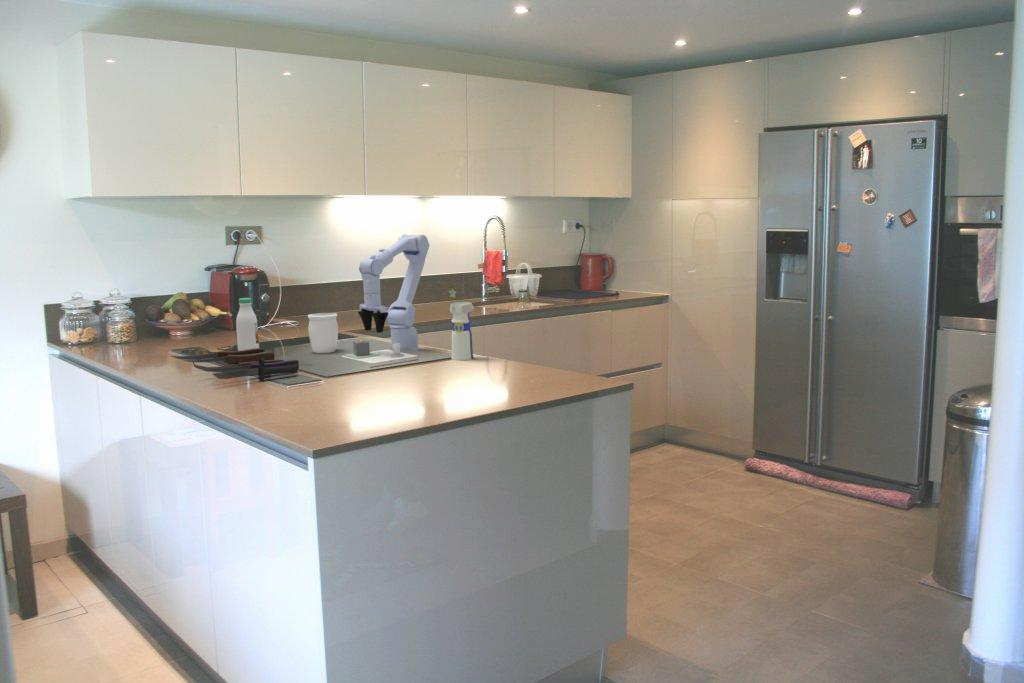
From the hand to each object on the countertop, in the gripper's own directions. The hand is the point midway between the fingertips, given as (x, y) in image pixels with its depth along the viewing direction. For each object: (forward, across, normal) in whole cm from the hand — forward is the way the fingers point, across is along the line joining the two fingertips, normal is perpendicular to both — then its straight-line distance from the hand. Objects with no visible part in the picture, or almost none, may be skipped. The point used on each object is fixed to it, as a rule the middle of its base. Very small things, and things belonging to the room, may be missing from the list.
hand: (373, 331), depth 295 cm
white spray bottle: (+10, +25, +20) cm, 33 cm away
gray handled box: (+8, +1, -6) cm, 10 cm away
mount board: (+9, +6, -2) cm, 11 cm away
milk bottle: (+10, -49, -25) cm, 56 cm away
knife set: (+10, -8, -47) cm, 49 cm away
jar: (+10, -18, -10) cm, 23 cm away
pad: (+8, +1, -6) cm, 10 cm away
